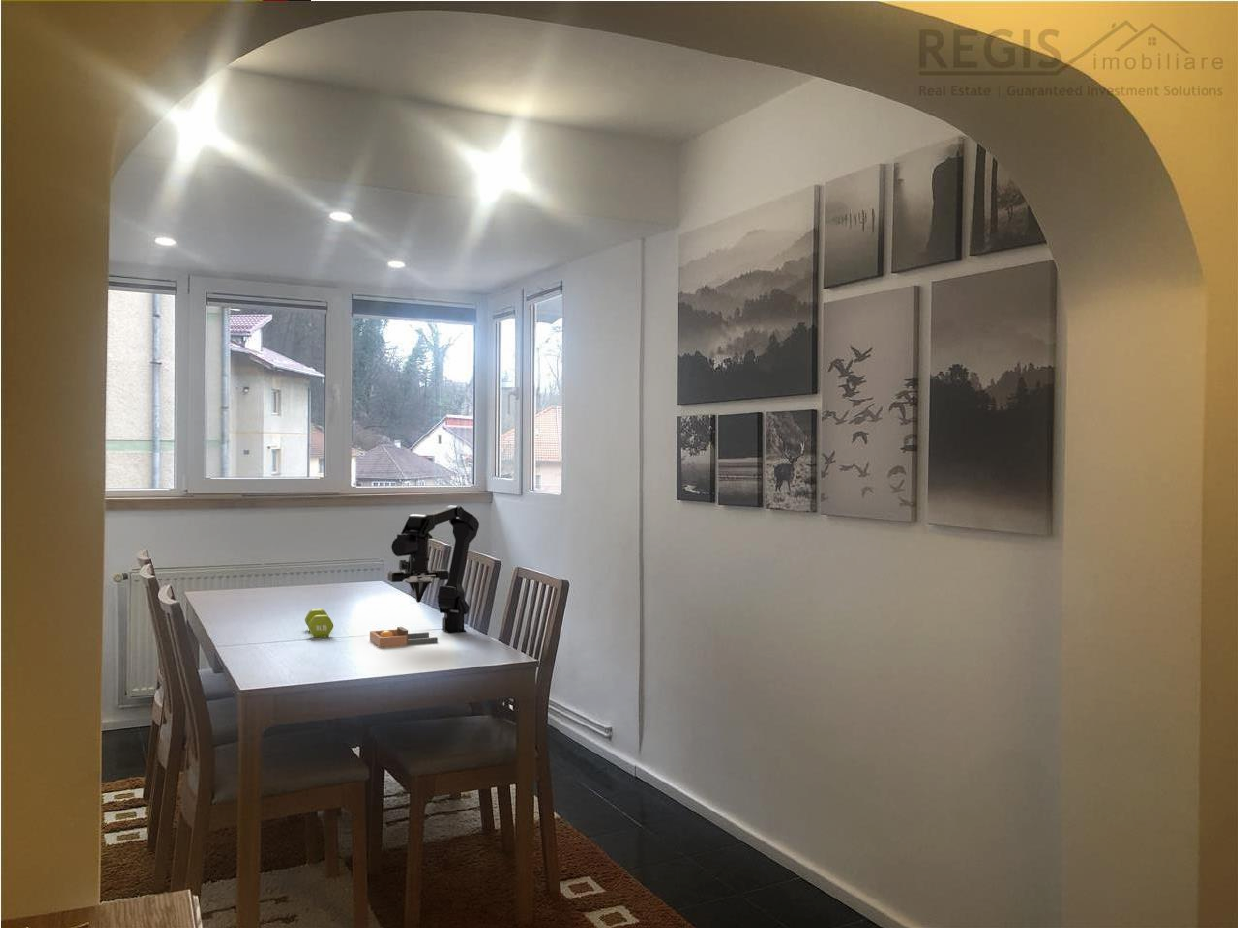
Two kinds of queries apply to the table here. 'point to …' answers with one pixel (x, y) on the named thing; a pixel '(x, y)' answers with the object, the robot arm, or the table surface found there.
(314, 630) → the dumbbell
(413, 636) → the track
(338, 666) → the table surface
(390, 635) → the ball
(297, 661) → the table surface
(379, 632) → the pocket
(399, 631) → the brown wooden block
